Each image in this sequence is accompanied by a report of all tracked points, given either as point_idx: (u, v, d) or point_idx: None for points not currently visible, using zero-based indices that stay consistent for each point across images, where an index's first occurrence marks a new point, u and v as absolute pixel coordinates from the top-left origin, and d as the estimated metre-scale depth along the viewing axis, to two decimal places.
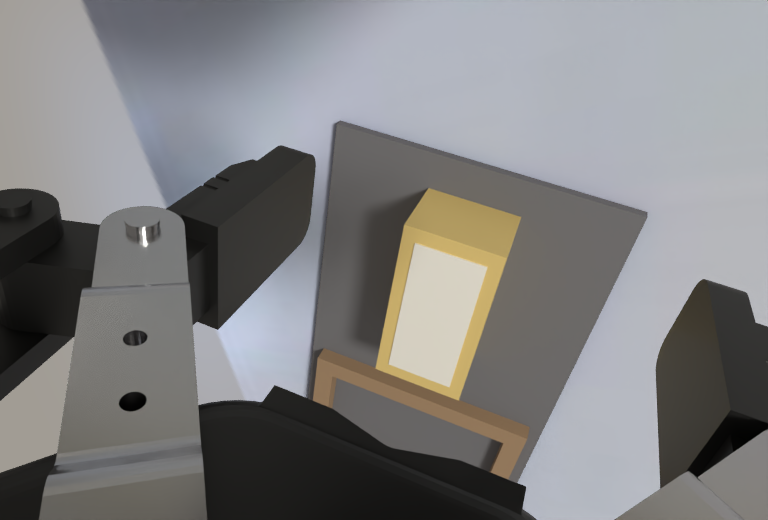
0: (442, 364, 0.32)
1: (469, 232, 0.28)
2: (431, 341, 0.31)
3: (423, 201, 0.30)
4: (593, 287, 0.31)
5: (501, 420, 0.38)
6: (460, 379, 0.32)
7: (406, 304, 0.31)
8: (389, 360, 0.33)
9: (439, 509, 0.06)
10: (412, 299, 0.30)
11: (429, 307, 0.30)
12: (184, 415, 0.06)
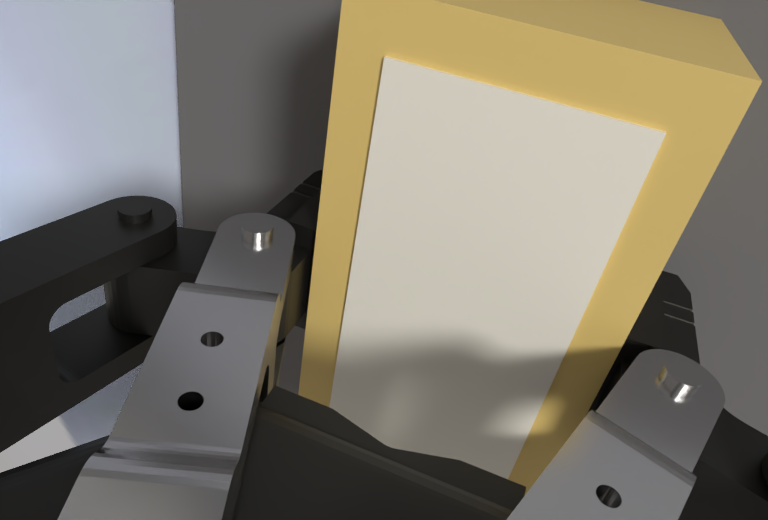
0: None
1: (585, 20, 0.08)
2: (438, 402, 0.11)
3: None
4: None
5: None
6: None
7: (363, 289, 0.10)
8: None
9: (439, 509, 0.06)
10: (380, 273, 0.10)
11: (434, 298, 0.10)
12: (184, 415, 0.06)
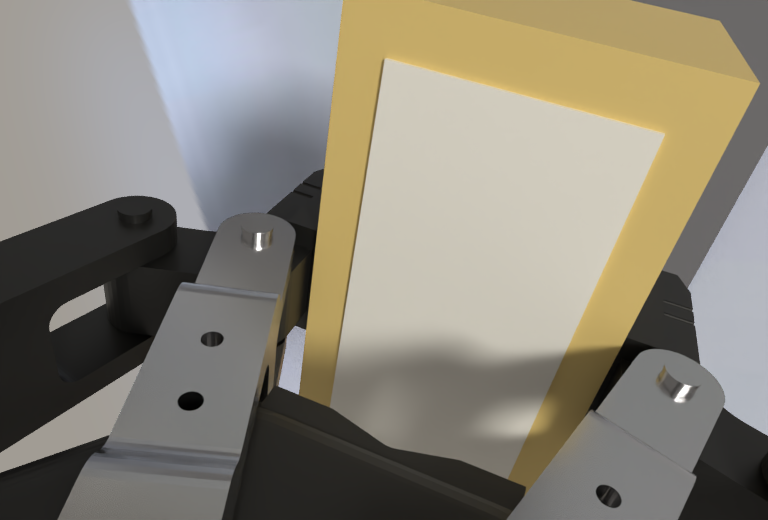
0: None
1: (584, 22, 0.08)
2: (438, 402, 0.11)
3: None
4: None
5: None
6: None
7: (364, 289, 0.10)
8: None
9: (439, 509, 0.06)
10: (380, 274, 0.10)
11: (435, 298, 0.10)
12: (184, 415, 0.06)
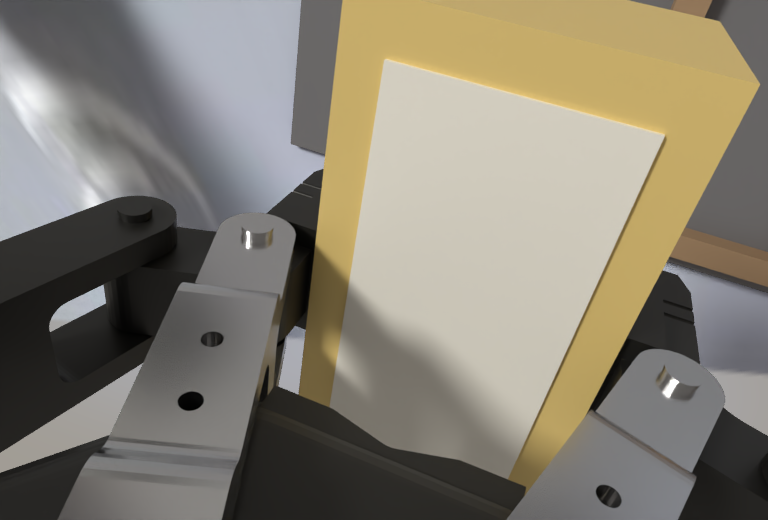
0: None
1: (583, 23, 0.08)
2: (437, 403, 0.11)
3: None
4: None
5: None
6: None
7: (364, 291, 0.10)
8: None
9: (439, 509, 0.06)
10: (380, 275, 0.10)
11: (434, 299, 0.10)
12: (184, 415, 0.06)
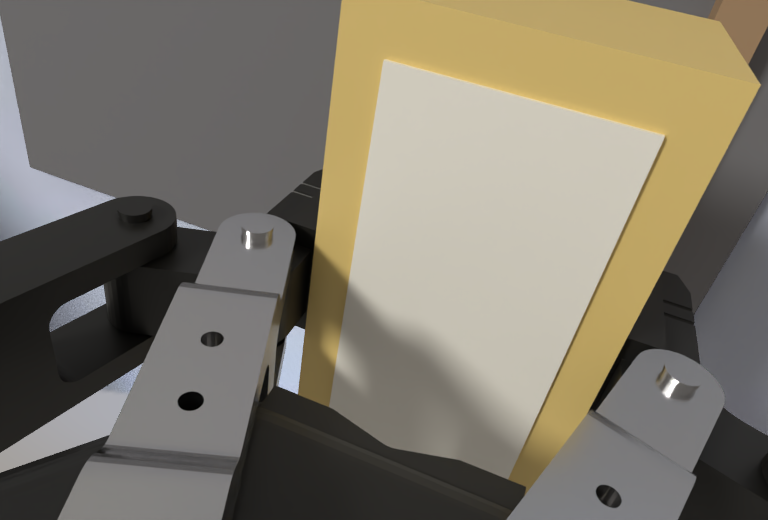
0: None
1: (584, 23, 0.08)
2: (438, 404, 0.11)
3: None
4: None
5: None
6: None
7: (363, 291, 0.10)
8: None
9: (439, 509, 0.06)
10: (380, 276, 0.10)
11: (434, 300, 0.10)
12: (184, 415, 0.06)
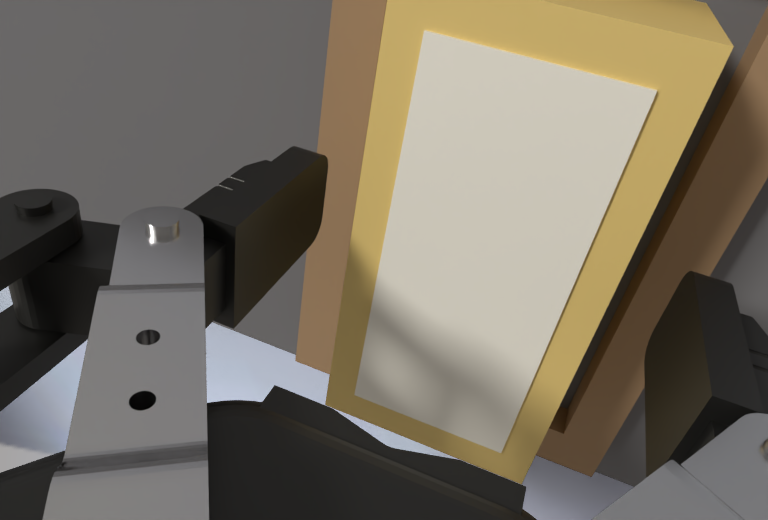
0: (486, 398, 0.13)
1: (590, 0, 0.09)
2: (461, 338, 0.12)
3: None
4: None
5: None
6: (532, 434, 0.13)
7: (398, 236, 0.12)
8: (356, 384, 0.14)
9: (439, 509, 0.06)
10: (414, 221, 0.11)
11: (460, 241, 0.11)
12: (184, 415, 0.06)
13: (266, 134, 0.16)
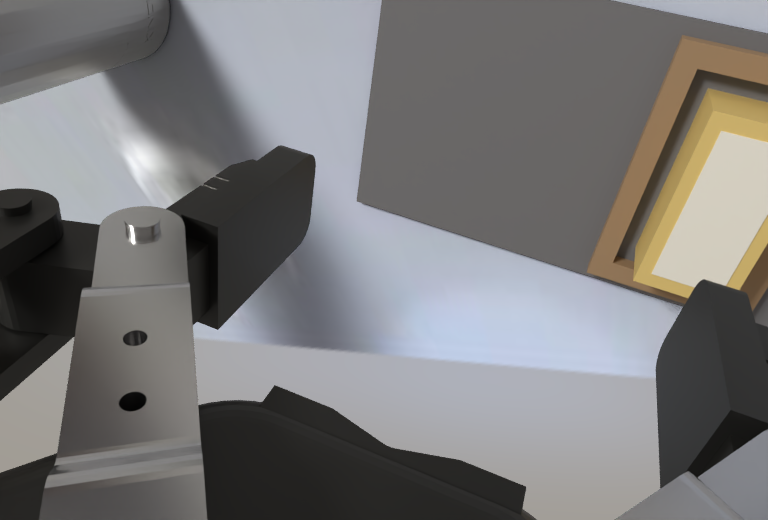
0: (717, 270, 0.31)
1: None
2: (711, 243, 0.31)
3: (713, 96, 0.30)
4: None
5: (667, 71, 0.31)
6: (736, 285, 0.31)
7: (692, 202, 0.30)
8: (653, 268, 0.33)
9: (439, 509, 0.06)
10: (700, 196, 0.30)
11: (719, 204, 0.30)
12: (184, 415, 0.06)
13: (593, 160, 0.35)
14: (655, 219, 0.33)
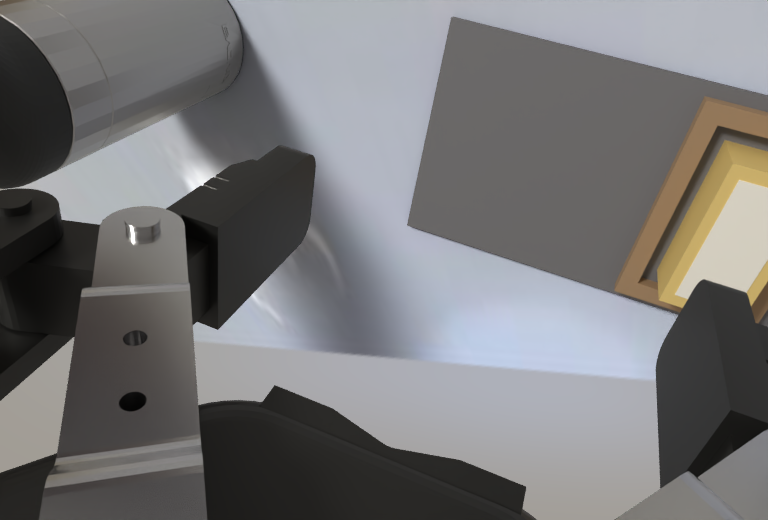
0: None
1: None
2: (726, 270, 0.37)
3: (730, 149, 0.36)
4: (517, 49, 0.38)
5: (691, 125, 0.37)
6: None
7: (712, 236, 0.36)
8: (677, 290, 0.38)
9: (439, 509, 0.06)
10: (719, 232, 0.36)
11: (735, 238, 0.36)
12: (184, 415, 0.06)
13: (623, 196, 0.41)
14: (678, 248, 0.39)
